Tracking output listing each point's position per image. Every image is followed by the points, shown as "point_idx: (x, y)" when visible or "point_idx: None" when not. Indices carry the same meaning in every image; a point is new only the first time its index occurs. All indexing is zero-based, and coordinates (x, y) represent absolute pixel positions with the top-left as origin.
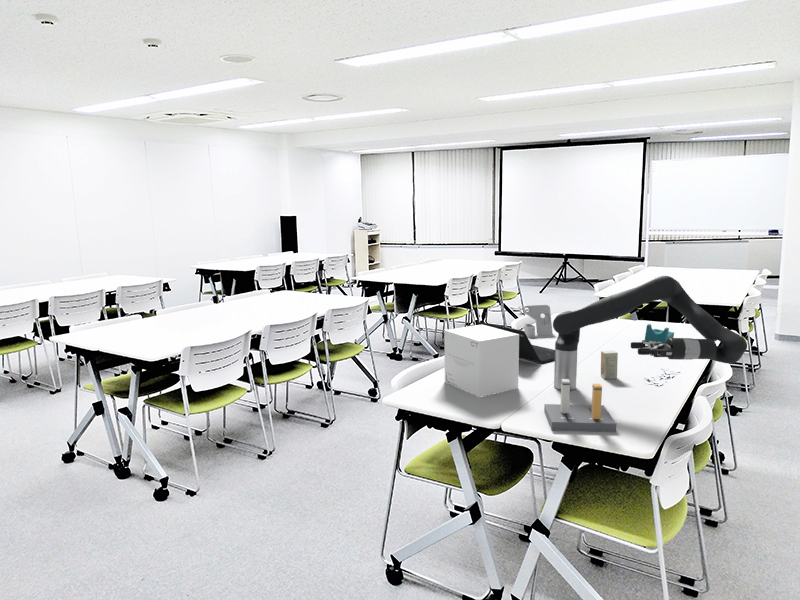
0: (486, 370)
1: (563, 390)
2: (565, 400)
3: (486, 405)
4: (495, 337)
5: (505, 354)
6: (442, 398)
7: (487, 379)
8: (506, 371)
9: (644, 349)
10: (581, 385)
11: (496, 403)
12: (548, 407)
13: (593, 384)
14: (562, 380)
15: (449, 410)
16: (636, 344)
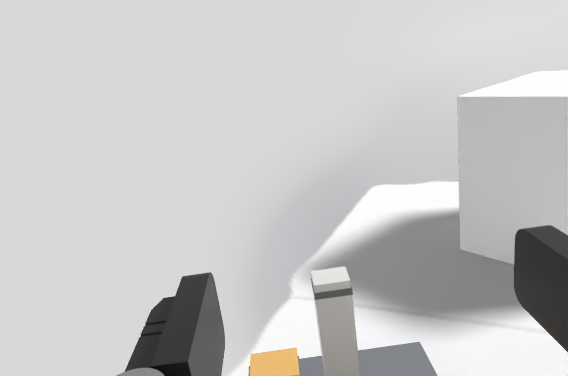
0: (482, 186)
1: (315, 306)
2: (321, 348)
3: (408, 265)
4: (531, 94)
5: (561, 158)
6: (416, 217)
7: (486, 213)
8: (564, 216)
9: (170, 323)
10: None
11: (434, 275)
12: (388, 352)
13: (282, 350)
14: (324, 269)
15: (349, 233)
16: (558, 281)
